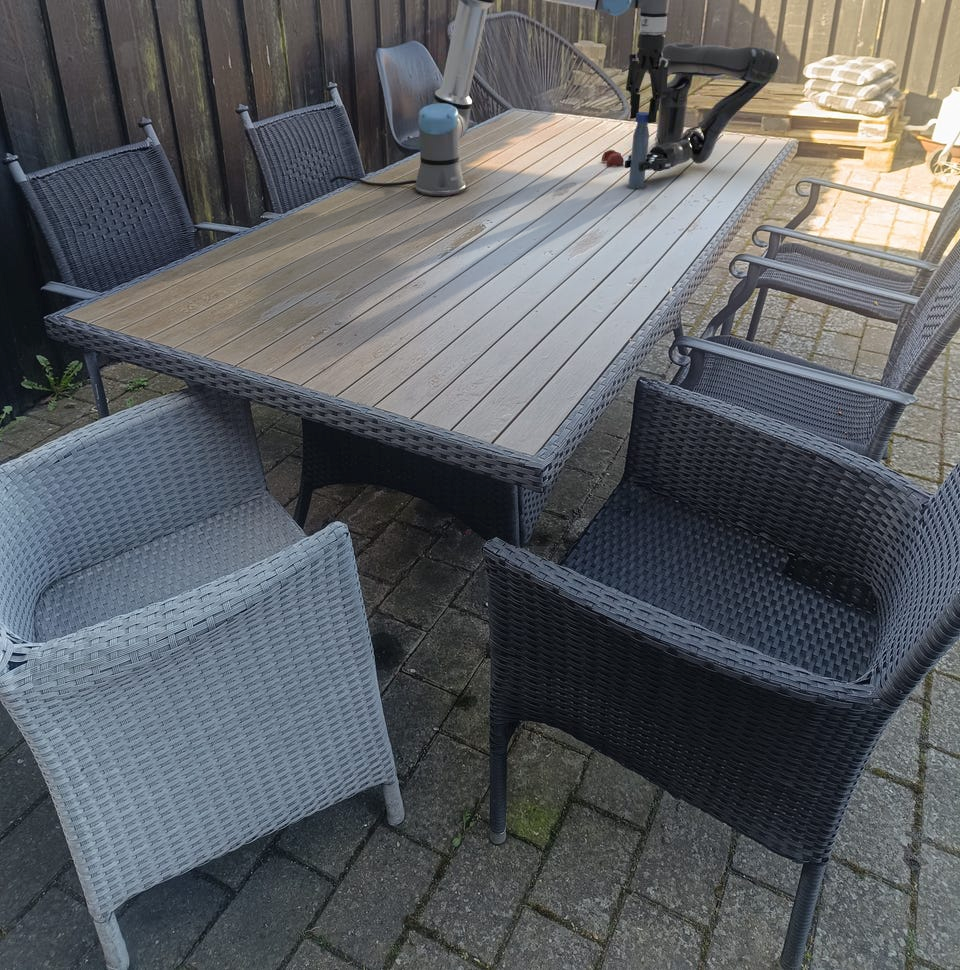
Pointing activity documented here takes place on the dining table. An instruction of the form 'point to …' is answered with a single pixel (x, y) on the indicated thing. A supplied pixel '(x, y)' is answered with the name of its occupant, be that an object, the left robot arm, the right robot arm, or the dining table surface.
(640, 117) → the cap
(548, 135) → the dining table surface
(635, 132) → the bottle
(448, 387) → the dining table surface
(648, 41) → the left robot arm
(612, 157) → the dental model
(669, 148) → the right robot arm
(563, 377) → the dining table surface
